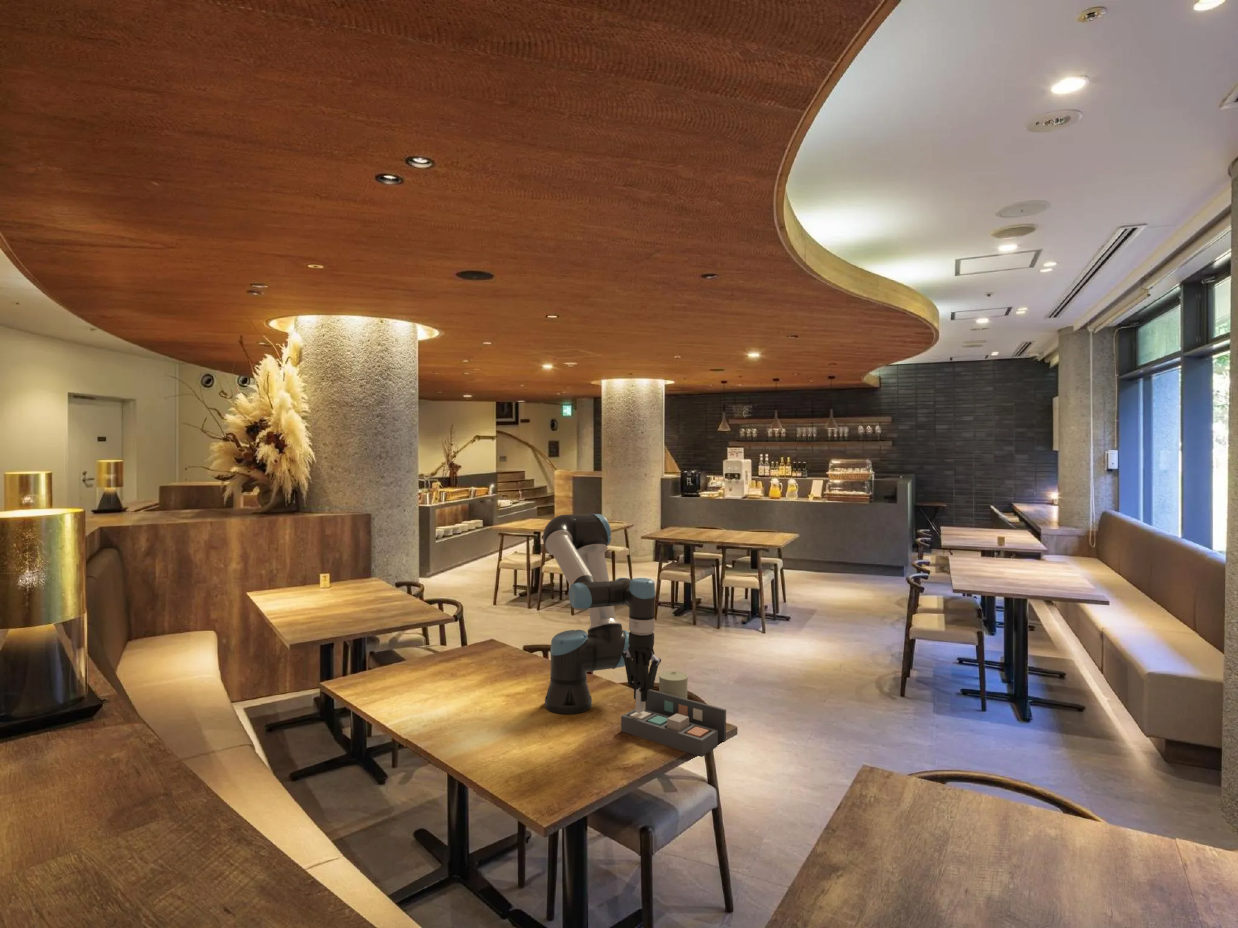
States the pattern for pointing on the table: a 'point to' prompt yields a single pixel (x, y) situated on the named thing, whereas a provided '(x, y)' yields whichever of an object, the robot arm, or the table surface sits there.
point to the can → (673, 683)
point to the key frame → (670, 734)
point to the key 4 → (698, 732)
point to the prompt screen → (688, 711)
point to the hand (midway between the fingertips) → (640, 710)
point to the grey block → (678, 722)
